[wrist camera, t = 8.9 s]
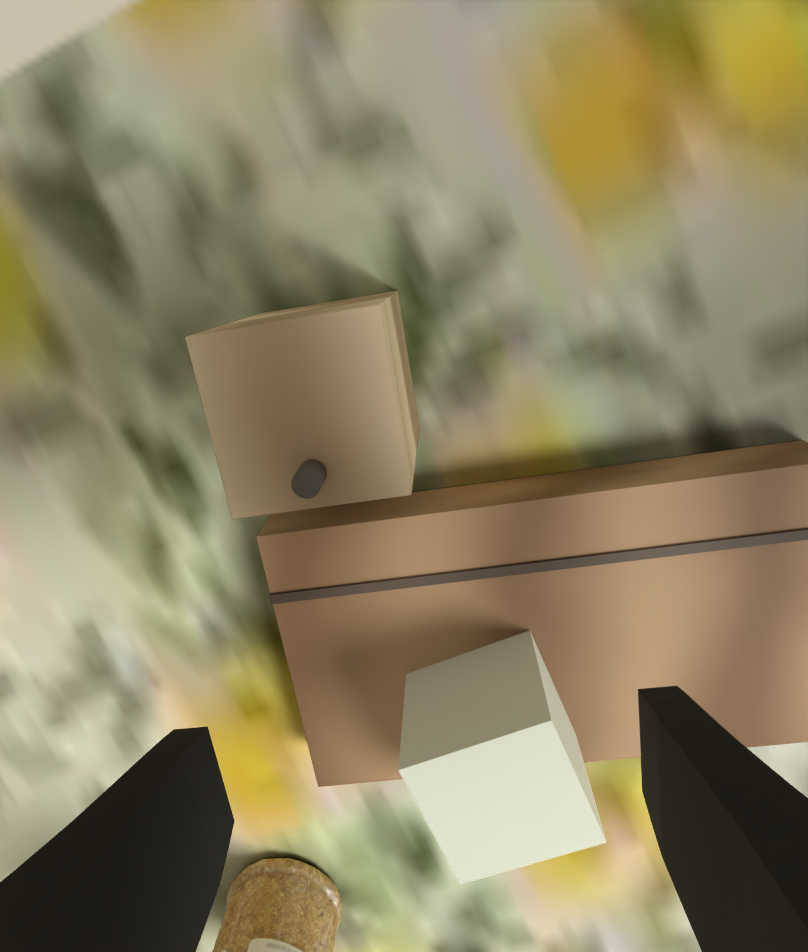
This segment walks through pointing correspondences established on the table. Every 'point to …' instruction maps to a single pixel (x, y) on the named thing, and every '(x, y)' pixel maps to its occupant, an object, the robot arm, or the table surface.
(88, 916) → the robot arm
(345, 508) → the plank
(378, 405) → the block
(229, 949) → the sprinkles bottle
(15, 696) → the table surface
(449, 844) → the offcut block
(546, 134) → the table surface
